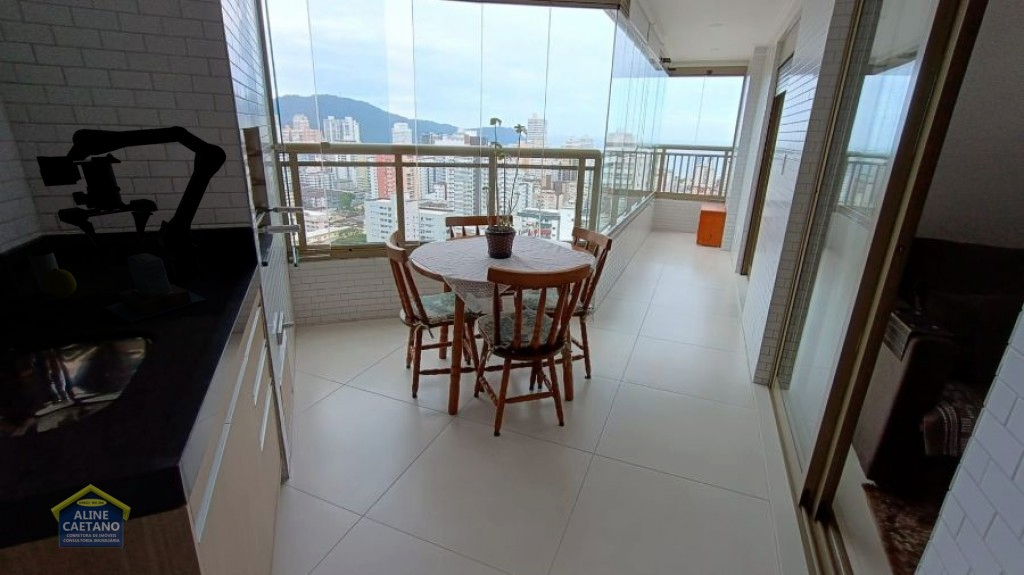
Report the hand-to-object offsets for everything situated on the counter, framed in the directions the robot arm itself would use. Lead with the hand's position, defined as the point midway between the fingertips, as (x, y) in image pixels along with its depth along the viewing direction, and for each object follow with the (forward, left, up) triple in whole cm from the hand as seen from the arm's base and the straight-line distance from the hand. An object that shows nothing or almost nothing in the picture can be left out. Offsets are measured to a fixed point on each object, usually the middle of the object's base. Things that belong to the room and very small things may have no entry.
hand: (120, 243), depth 119 cm
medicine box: (+2, +19, -9) cm, 21 cm away
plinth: (+2, +19, -12) cm, 22 cm away
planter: (+13, -11, -12) cm, 21 cm away
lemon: (+13, -3, -12) cm, 18 cm away
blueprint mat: (+2, +19, -12) cm, 22 cm away
